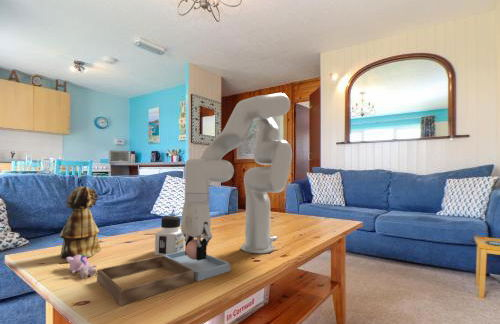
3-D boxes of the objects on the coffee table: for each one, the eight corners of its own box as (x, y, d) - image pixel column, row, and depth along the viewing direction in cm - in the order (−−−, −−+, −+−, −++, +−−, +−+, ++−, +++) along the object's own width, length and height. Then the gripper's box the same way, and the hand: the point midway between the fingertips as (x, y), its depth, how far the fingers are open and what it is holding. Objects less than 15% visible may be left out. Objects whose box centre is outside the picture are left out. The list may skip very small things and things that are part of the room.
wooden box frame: (162, 265, 82) (163, 255, 82) (193, 282, 69) (193, 270, 70) (96, 281, 69) (97, 269, 69) (120, 305, 57) (120, 291, 57)
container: (174, 256, 90) (175, 218, 91) (154, 255, 92) (155, 217, 92) (184, 250, 98) (185, 215, 98) (165, 248, 99) (166, 214, 100)
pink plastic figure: (102, 280, 73) (81, 260, 82) (105, 259, 73) (83, 241, 82) (77, 287, 68) (58, 265, 77) (80, 265, 68) (60, 245, 77)
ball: (198, 254, 85) (198, 236, 86) (208, 259, 81) (209, 239, 81) (181, 258, 81) (182, 239, 82) (192, 263, 77) (192, 243, 77)
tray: (192, 255, 92) (193, 248, 92) (230, 270, 78) (230, 263, 78) (162, 262, 84) (163, 255, 84) (198, 281, 70) (198, 272, 70)
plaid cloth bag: (35, 258, 83) (59, 181, 85) (63, 247, 96) (83, 181, 98) (80, 268, 83) (102, 191, 85) (101, 256, 97) (120, 190, 99)
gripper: (172, 196, 86) (170, 253, 85) (202, 201, 73) (201, 267, 73) (192, 195, 91) (191, 248, 90) (223, 199, 79) (222, 261, 78)
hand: (195, 256), depth 81 cm, fingers closed on ball, 5 cm apart
